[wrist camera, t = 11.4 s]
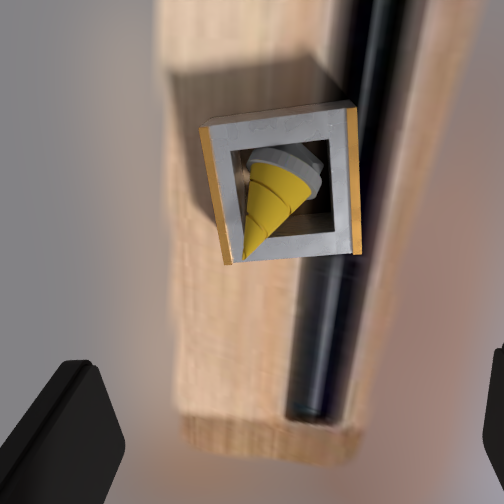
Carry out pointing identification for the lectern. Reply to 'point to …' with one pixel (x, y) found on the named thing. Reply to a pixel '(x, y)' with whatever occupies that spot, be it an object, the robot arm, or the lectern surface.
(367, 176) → the lectern surface
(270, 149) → the drill bit
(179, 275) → the lectern surface
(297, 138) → the block
